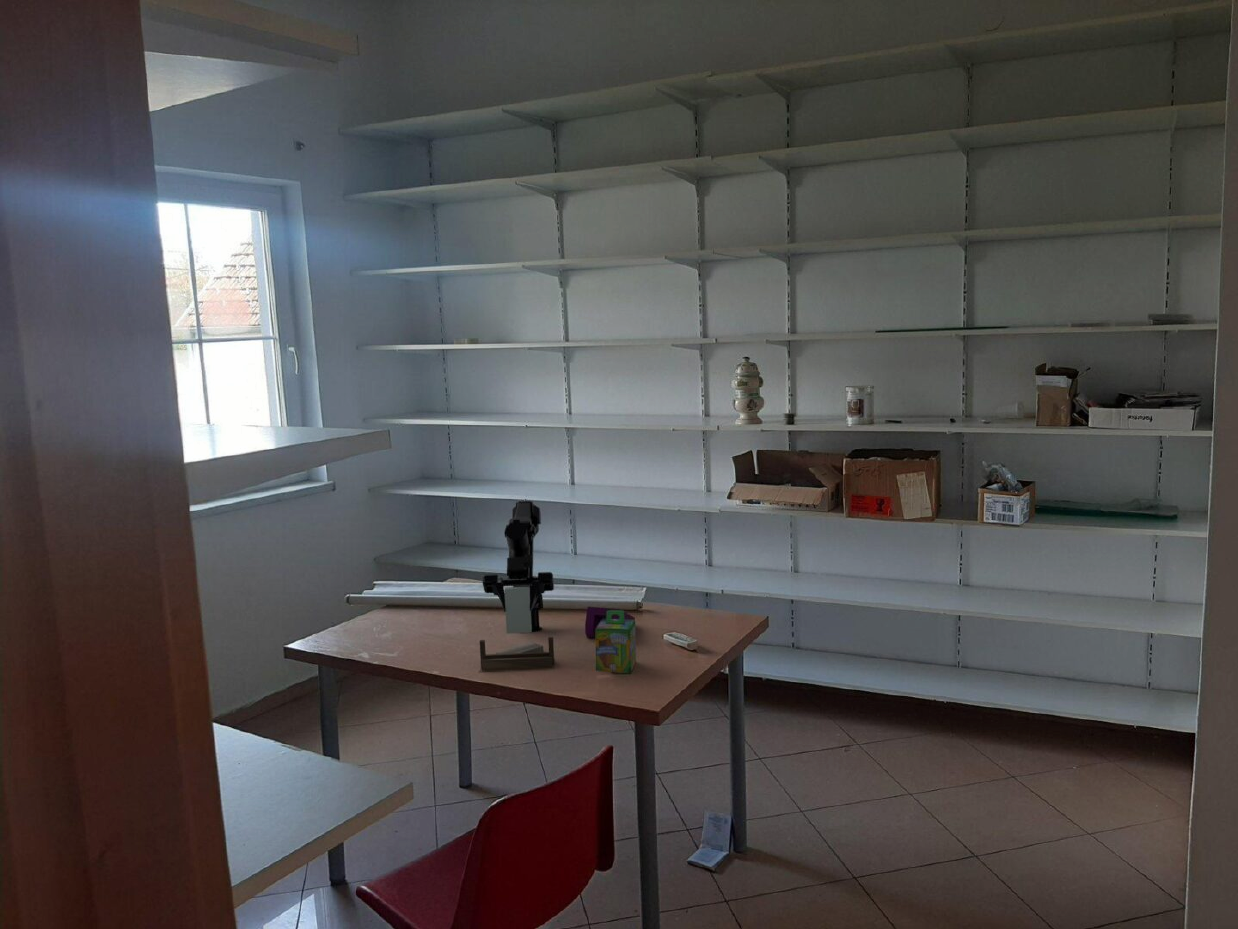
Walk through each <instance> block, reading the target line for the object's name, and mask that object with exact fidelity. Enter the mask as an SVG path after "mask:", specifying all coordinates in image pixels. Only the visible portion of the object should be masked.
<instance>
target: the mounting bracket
mask: <svg viewBox="0 0 1238 929" xmlns="http://www.w3.org/2000/svg"><path fill="white" fill-rule="evenodd" d="M607 610H621V609H620V608H611V607H610V608H609V607H597V606H587V610H586V617H585V622H584V623H585V624H584V630H585V637H586V638H588V639H591V640H595V629H596V627H597V626H598V624H599V623H600V621H601V620H602V619H606V613H607ZM611 618H612V619H619V618H620V617H619V615H617V614H614V615H612V616H611ZM625 619H627V620H634V621H635V620H636V617H634V616H632V615H631V614H629V613H627V612H625ZM635 622H636V621H635Z"/></svg>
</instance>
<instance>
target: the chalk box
mask: <svg viewBox="0 0 1238 929" xmlns="http://www.w3.org/2000/svg"><path fill="white" fill-rule="evenodd" d="M625 613H626V612H625V610H623V609H620V610H607V613H606V619H602V620H601V621H600V623H599V624H598V626H597V627H596V629H595V639H594V641H595V644H594V645H595V671H606V672H607V671H609V672H611V673H613V674H627V675H628V674H629V675H630V674H631V673H632V671H633V670H634V669H633V668H634V667H635V664H636V661H637V657H636V656H637V654H636V653H637V652H636V650H637V649H636V648H637V645H636V621H634V620H627V619H625ZM614 614H617V615H619V617H620V618H619V619H612V618H611V616H612V615H614Z"/></svg>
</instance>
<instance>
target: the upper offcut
mask: <svg viewBox="0 0 1238 929" xmlns="http://www.w3.org/2000/svg"><path fill="white" fill-rule="evenodd" d="M535 652H545V651H544V645H542V644H538V643H536V642H529V643H525V644H521V645H518V646H514V647H511V648H508V649H504V650H502V651H498V652H495V654H510V653H535Z"/></svg>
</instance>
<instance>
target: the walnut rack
mask: <svg viewBox="0 0 1238 929" xmlns="http://www.w3.org/2000/svg"><path fill="white" fill-rule="evenodd" d="M547 640H548V643H547V644H548V651H544V652H535V653H510V654H496V653H490V654H489V653H488V654H487V653H486V640H485V639H480V640H479V653H480V654H479V655H480V669H479V671H478V673H499V672H500V673H501V672H504V673H505V672H524V671H526V672H528V671H549V670H550V671H551V670H555V664H556V659H555V652H554V651H555V650H554V648H555V647H554V637H553V636H549V637H548V639H547Z"/></svg>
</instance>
